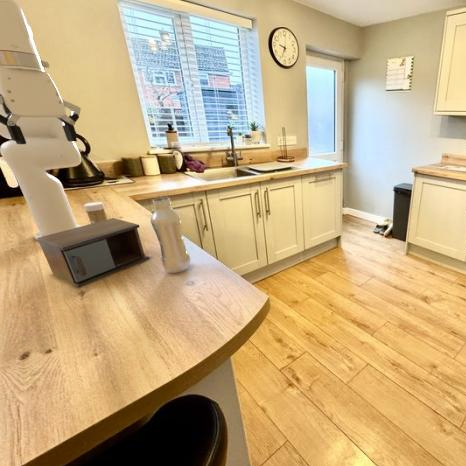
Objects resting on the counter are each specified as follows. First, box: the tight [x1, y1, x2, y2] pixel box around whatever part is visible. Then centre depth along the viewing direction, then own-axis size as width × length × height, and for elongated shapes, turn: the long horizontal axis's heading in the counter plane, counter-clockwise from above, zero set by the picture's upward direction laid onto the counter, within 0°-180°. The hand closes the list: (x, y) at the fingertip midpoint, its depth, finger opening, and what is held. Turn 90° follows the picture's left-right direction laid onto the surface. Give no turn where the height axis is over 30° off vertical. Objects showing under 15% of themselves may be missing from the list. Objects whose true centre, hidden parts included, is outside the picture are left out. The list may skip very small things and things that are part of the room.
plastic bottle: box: [150, 196, 191, 274], centre depth 75 cm, size 6×7×20 cm
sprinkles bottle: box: [83, 201, 108, 224], centre depth 92 cm, size 5×5×13 cm
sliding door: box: [63, 239, 115, 282], centre depth 72 cm, size 4×8×8 cm, turn 154°
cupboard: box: [37, 217, 150, 288], centre depth 78 cm, size 13×17×11 cm
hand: (48, 142), depth 71 cm, fingers open, 9 cm apart
